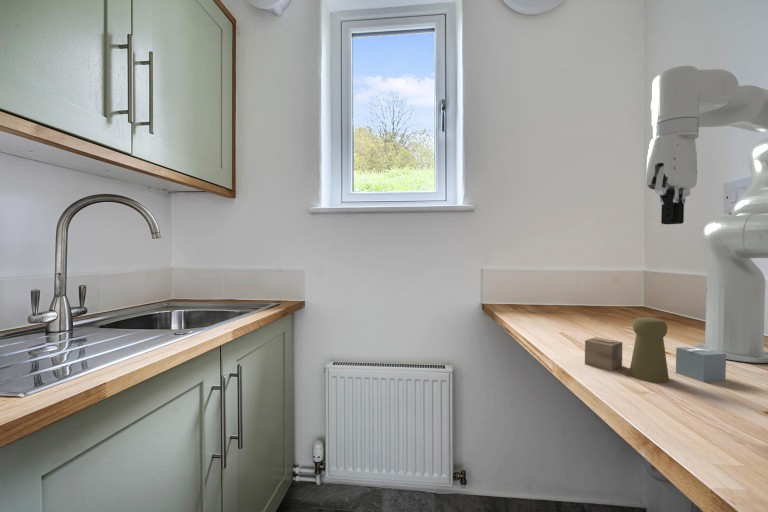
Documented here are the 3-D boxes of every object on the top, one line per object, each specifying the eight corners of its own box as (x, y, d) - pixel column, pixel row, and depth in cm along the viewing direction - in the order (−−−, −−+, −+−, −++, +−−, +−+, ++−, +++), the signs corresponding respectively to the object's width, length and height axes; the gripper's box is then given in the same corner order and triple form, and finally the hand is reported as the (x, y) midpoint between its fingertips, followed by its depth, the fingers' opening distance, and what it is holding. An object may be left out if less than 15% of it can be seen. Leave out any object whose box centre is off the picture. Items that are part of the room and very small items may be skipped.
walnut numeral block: (595, 360, 78) (596, 336, 78) (621, 366, 74) (622, 341, 74) (584, 364, 75) (585, 339, 75) (611, 371, 71) (611, 344, 71)
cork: (676, 384, 64) (678, 321, 64) (638, 381, 65) (639, 320, 65) (658, 372, 70) (659, 315, 70) (623, 370, 71) (624, 314, 71)
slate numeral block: (696, 371, 71) (697, 345, 71) (725, 381, 66) (726, 352, 66) (674, 373, 70) (675, 346, 70) (702, 382, 65) (703, 353, 65)
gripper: (672, 142, 80) (671, 226, 80) (632, 133, 73) (630, 223, 74) (715, 133, 73) (713, 224, 73) (675, 121, 67) (673, 221, 67)
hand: (672, 223), depth 74 cm, fingers closed
